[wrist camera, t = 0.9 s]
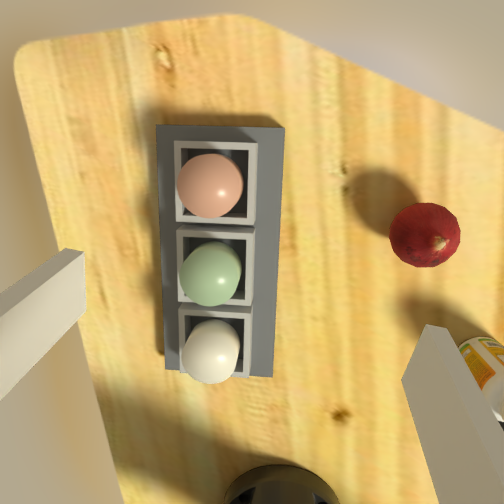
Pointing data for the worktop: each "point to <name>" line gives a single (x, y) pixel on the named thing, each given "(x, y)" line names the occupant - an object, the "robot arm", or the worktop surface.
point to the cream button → (211, 351)
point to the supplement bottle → (487, 370)
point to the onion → (424, 235)
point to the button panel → (223, 239)
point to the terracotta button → (210, 185)
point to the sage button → (211, 274)
